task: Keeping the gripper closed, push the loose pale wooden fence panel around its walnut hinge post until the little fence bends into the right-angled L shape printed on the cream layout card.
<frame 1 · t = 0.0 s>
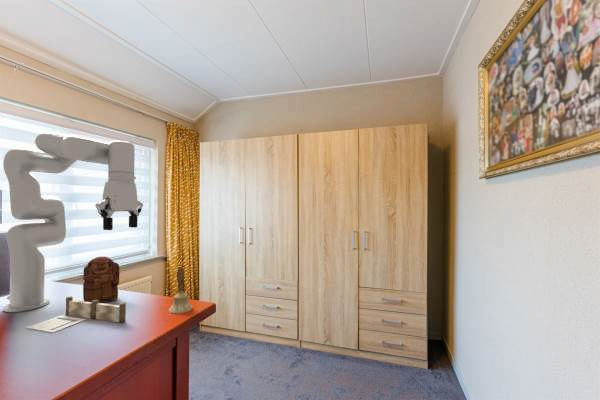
hand: (121, 228, 96), 31 cm above the table, tool pointing down, fingers open, 9 cm apart
hand bell: (180, 310, 105), on the table
fence fixed: (94, 318, 97), on the table
fence panel: (111, 311, 95), point 3 cm above the table, hinge at 0.0°
wooden figurine: (101, 302, 113), on the table
layout card: (57, 324, 92), on the table
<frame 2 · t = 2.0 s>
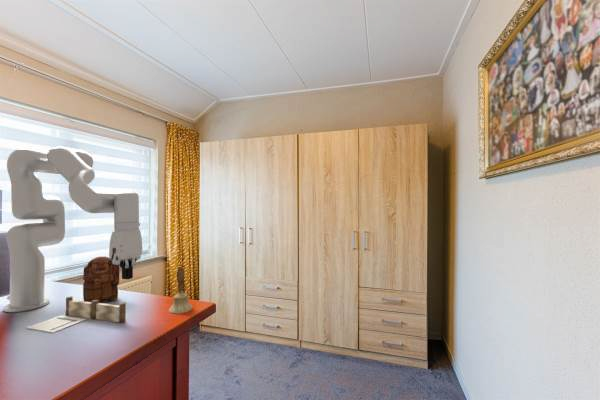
hand: (127, 278, 100), 13 cm above the table, tool pointing down, fingers closed
nothing on the table moved.
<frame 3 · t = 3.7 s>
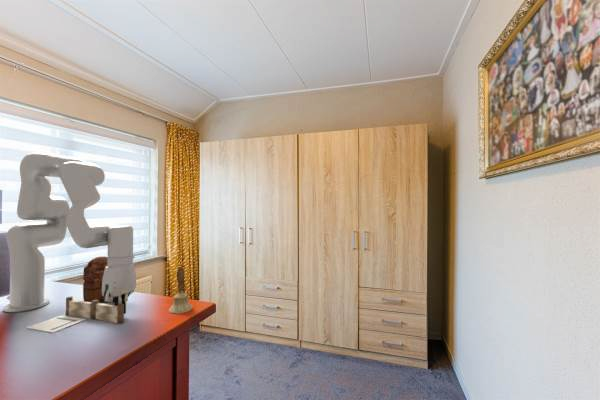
hand: (120, 313, 98), 1 cm above the table, tool pointing down, fingers closed
fence panel: (109, 311, 95), point 3 cm above the table, hinge at -3.3°, touching gripper
everything else where it was.
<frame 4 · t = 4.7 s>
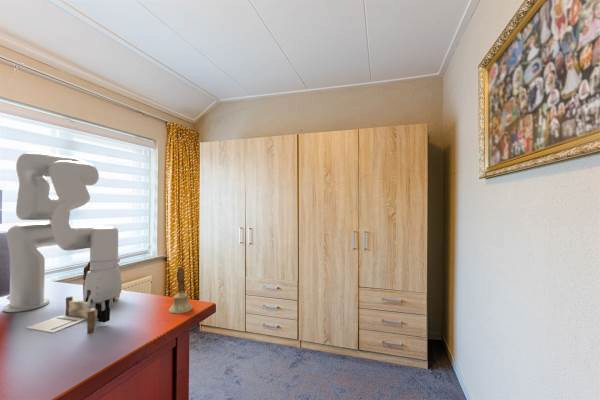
hand: (103, 321, 92), 1 cm above the table, tool pointing down, fingers closed
fence panel: (92, 316, 91), point 3 cm above the table, hinge at -43.1°, touching gripper
everything else where it was.
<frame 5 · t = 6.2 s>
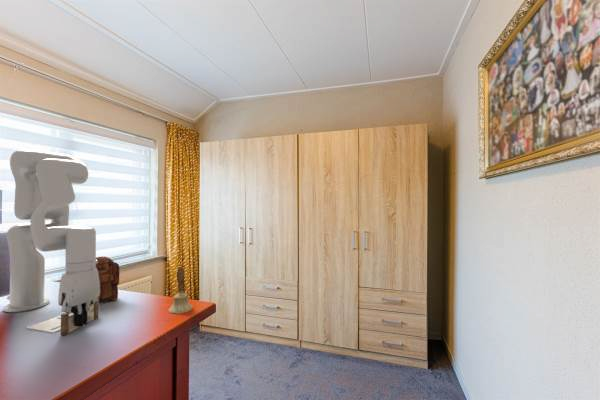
hand: (80, 325, 88), 1 cm above the table, tool pointing down, fingers closed
fence panel: (78, 317, 90), point 3 cm above the table, hinge at -76.5°, touching gripper
everything else where it was.
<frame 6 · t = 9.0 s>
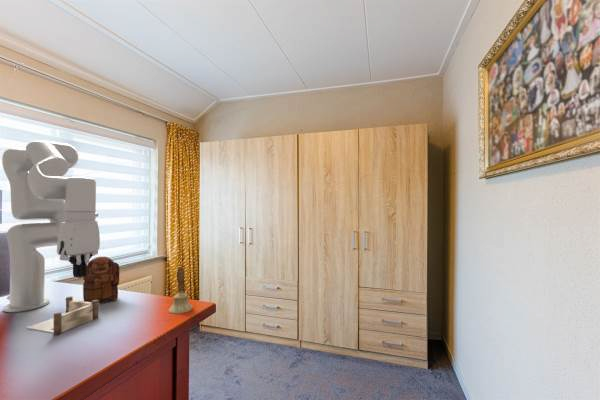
hand: (79, 276, 87), 17 cm above the table, tool pointing down, fingers closed
fence panel: (74, 317, 90), point 3 cm above the table, hinge at -88.3°
everything else where it was.
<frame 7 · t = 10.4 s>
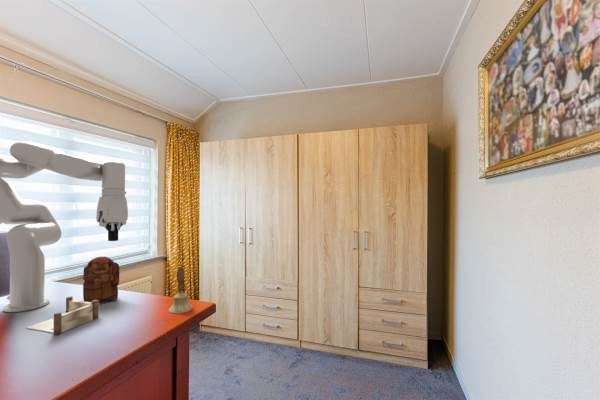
hand: (113, 240, 109), 25 cm above the table, tool pointing down, fingers closed
nothing on the table moved.
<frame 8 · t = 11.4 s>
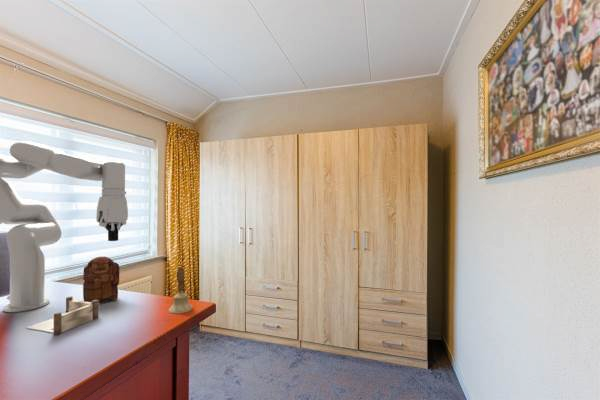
hand: (113, 240, 109), 25 cm above the table, tool pointing down, fingers closed
nothing on the table moved.
at the end: fence panel at -88° (first picture: +0°); hand bell moved 0.3 cm from its start; wooden figurine moved 0.2 cm from its start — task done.
